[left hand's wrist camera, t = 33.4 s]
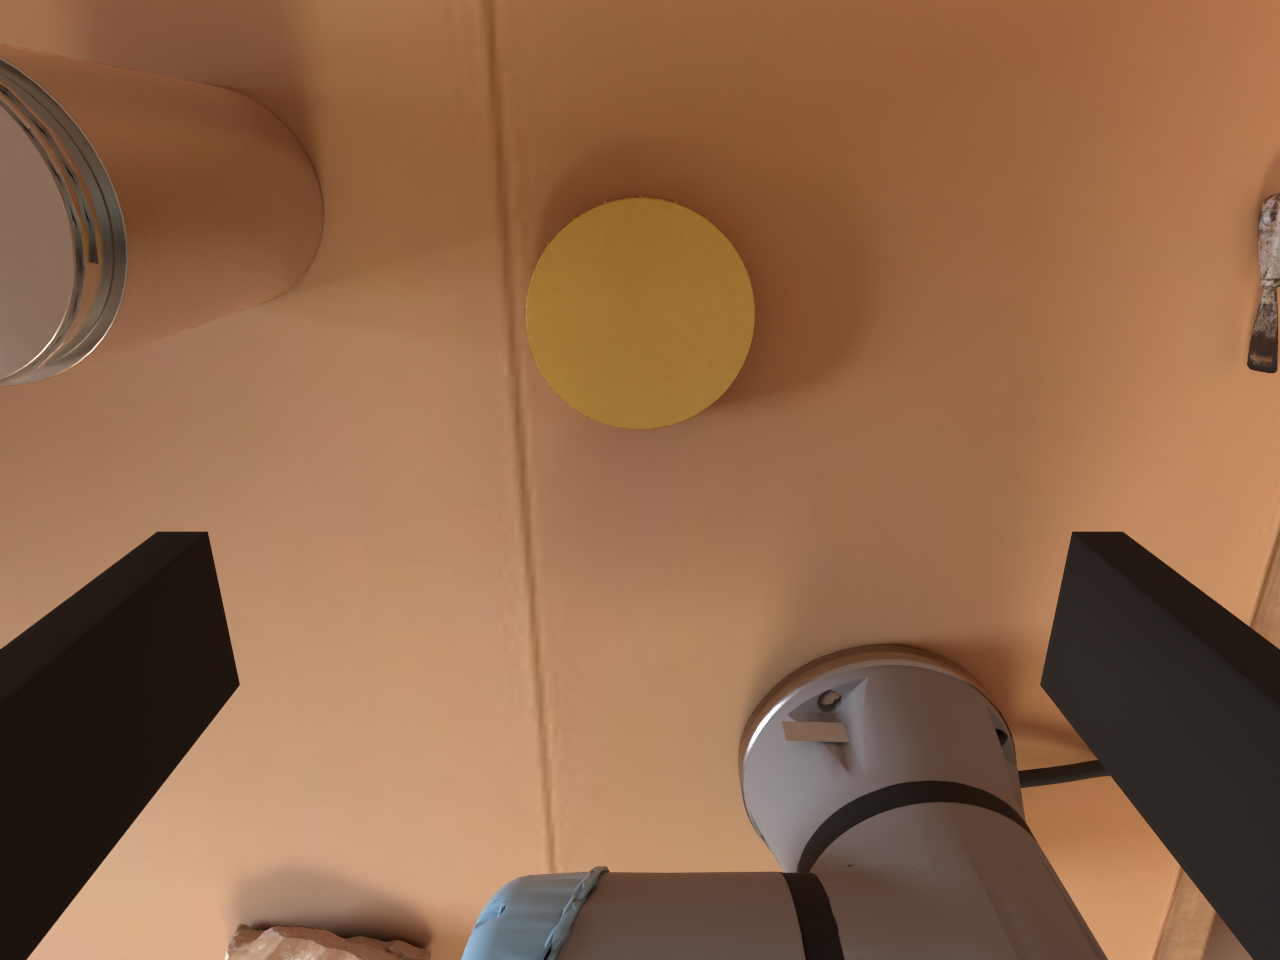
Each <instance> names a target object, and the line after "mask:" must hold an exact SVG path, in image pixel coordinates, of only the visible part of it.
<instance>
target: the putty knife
mask: <svg viewBox="0 0 1280 960" xmlns="http://www.w3.org/2000/svg"><path fill="white" fill-rule="evenodd" d="M1258 254H1259V268H1260V279H1261V286H1264V289H1263V292H1262V296H1261V300H1260V303H1259V307H1258V310H1257V315H1256V319H1255V323H1254V328H1253V333H1252V337H1251V342H1250V348H1249V354H1248V362H1247V365H1248V367H1249V368H1250V369H1251V370H1255V371H1256V370H1257V371H1260V372H1266V373H1275V372H1276V371H1277V362H1278V305H1277V289H1276V287H1280V193H1278V194H1274V195H1271V196H1270V197H1268V198H1267V199H1266V200H1265V201H1264V203H1263V205H1262V207H1261V211H1260V216H1259V223H1258Z"/></svg>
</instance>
